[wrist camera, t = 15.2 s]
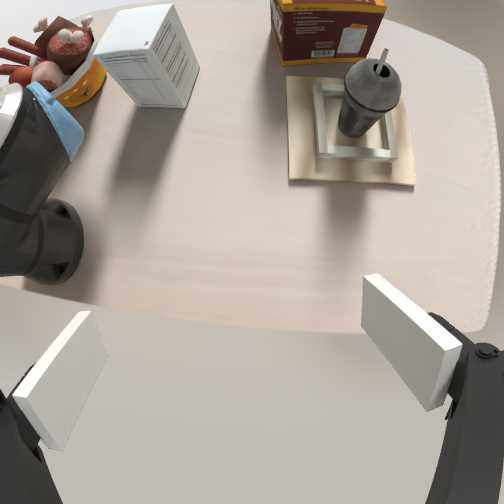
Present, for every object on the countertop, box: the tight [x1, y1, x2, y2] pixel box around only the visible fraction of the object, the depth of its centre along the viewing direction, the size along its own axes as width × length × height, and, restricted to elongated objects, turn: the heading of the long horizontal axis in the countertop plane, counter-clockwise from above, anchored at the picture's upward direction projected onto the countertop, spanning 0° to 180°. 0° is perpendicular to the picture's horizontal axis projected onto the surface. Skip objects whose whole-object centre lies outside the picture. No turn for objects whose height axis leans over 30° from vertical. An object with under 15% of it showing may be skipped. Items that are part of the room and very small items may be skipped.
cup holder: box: [286, 76, 417, 186], centre depth 41 cm, size 20×18×4 cm
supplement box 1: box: [93, 4, 200, 108], centre depth 37 cm, size 10×9×17 cm
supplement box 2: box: [270, 0, 387, 66], centre depth 36 cm, size 10×15×16 cm
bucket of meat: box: [0, 15, 107, 107], centre depth 37 cm, size 20×16×20 cm
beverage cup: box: [338, 48, 401, 138], centre depth 32 cm, size 7×7×20 cm
